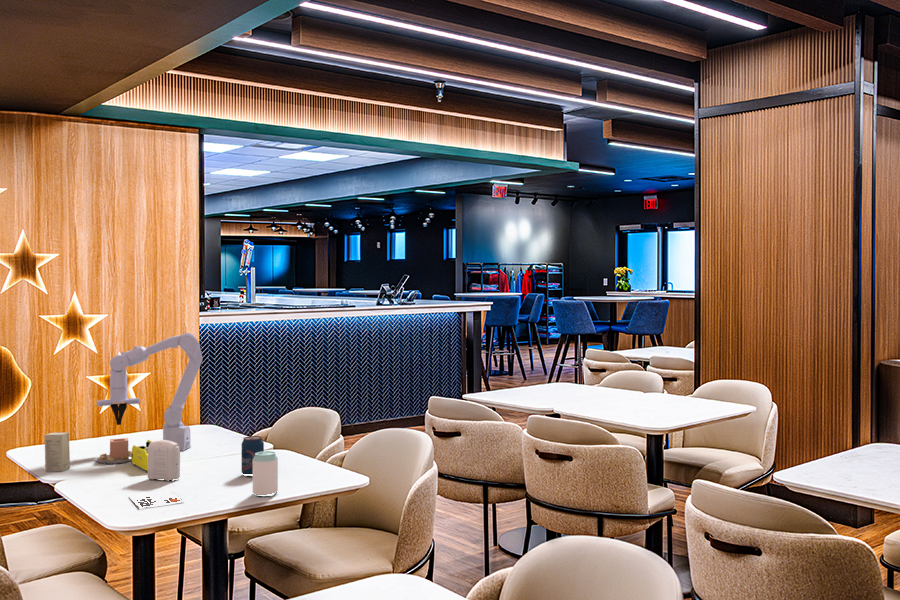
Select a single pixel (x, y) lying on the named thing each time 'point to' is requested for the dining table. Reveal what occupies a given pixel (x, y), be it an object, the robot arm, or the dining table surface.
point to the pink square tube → (119, 448)
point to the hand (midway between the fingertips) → (118, 424)
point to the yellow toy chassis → (140, 455)
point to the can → (265, 473)
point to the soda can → (250, 452)
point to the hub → (111, 460)
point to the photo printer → (163, 460)
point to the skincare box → (57, 452)
